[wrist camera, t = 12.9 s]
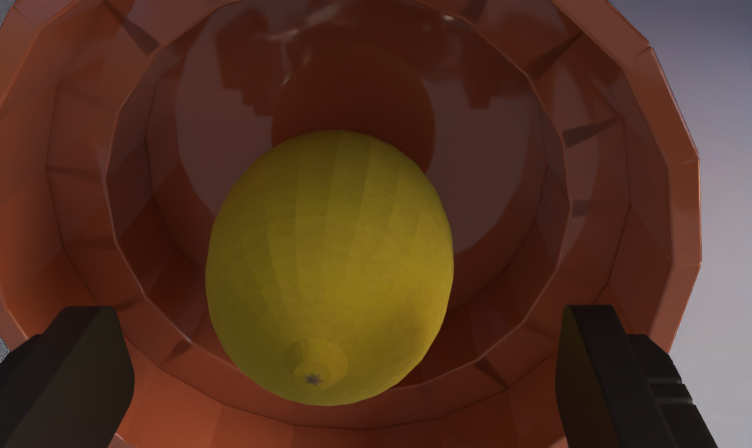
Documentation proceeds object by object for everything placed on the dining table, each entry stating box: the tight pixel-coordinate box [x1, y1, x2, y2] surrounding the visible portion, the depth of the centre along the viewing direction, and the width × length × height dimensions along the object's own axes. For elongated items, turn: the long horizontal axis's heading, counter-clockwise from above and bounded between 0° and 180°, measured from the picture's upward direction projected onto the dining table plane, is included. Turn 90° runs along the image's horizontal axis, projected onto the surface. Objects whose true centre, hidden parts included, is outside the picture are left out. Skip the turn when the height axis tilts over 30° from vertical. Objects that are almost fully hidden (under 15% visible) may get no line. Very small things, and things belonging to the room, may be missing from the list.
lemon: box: [205, 130, 454, 406], centre depth 15 cm, size 6×6×8 cm
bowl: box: [0, 0, 702, 448], centre depth 16 cm, size 15×15×6 cm
